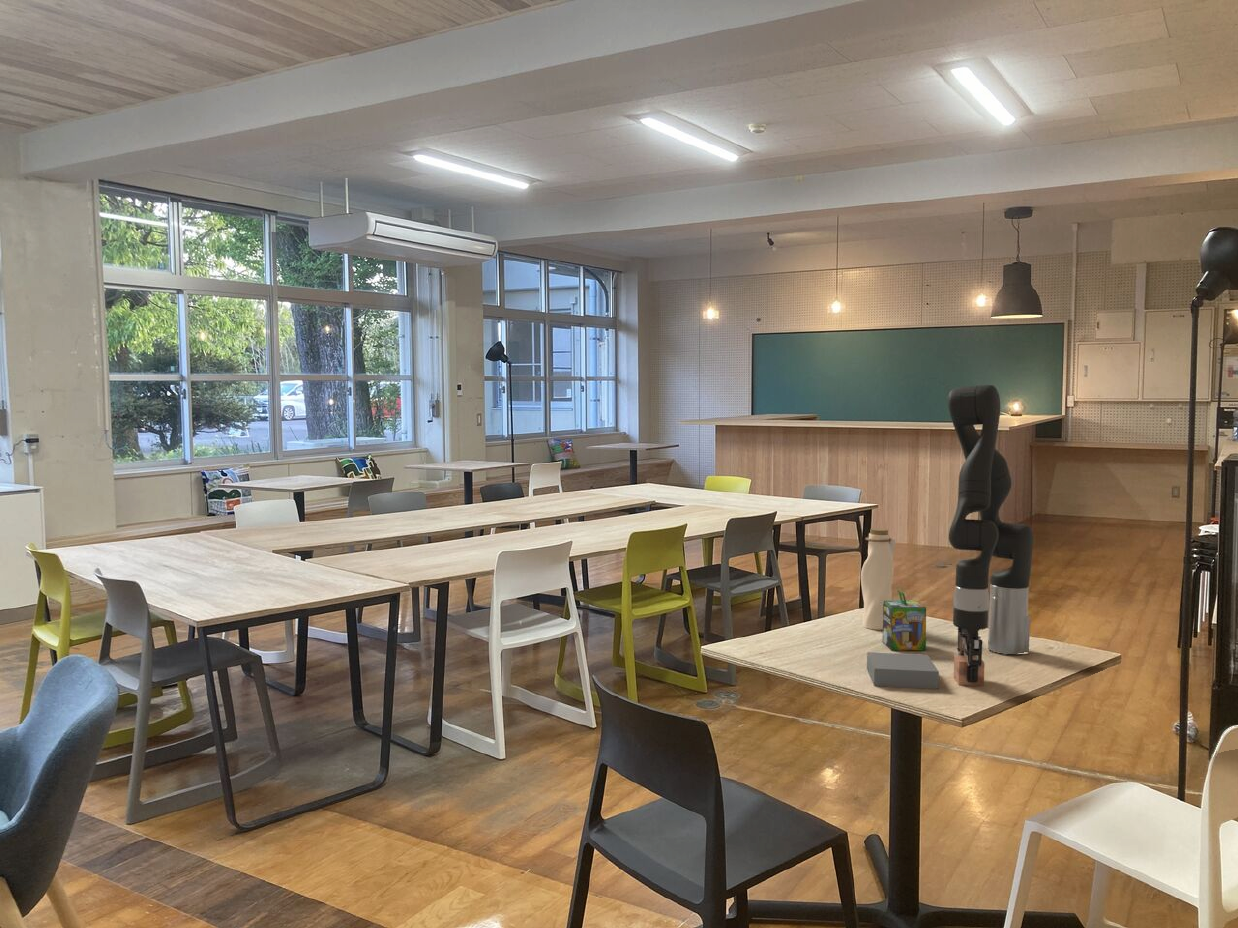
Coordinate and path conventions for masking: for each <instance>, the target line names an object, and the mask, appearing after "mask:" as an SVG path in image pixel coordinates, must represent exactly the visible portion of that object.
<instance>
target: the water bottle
mask: <svg viewBox="0 0 1238 928" xmlns="http://www.w3.org/2000/svg"><path fill="white" fill-rule="evenodd" d="M865 540H866V541H868V544H867V547H868V548H867V558H866V559H865V561H863V562H864V563H863V565H862V568H861V573H860V574H861V575H860V583H861V593H862V598H863V600H862V601H863V616H862V627H863V628H864V629H869V630H875V631H876V630H877V631H878V630H882V631H883V602H884V601H893V593H892V587H893V582H894V581H893V580H894V573H895V572H894V571H895V567H894V557H895V556H894V555H895V545H896V539H894V538H891V537H890V535H889V529H888V528H880V527H877V528H876V527H875V528H874V527H873V528H870V531H869V533H868V536H867V537H865Z"/></svg>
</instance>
